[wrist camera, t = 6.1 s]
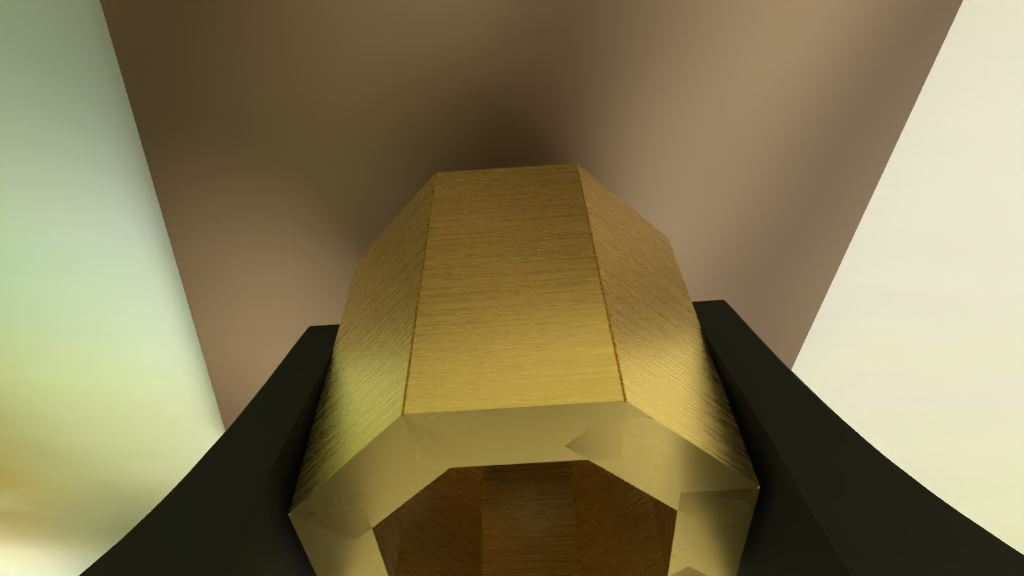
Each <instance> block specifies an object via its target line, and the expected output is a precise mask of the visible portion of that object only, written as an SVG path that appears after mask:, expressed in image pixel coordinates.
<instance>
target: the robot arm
mask: <svg viewBox="0 0 1024 576" xmlns="http://www.w3.org/2000/svg"><path fill="white" fill-rule="evenodd" d="M692 304H693V307H694V309H695V312H696V315H697V318H698V320H699V323H700V327H701V329H702V332H703V335H704V337H705V340H706V342H707V345H708V348H709V350H710V353H711V356H712V358H713V361H714V364H715V367H716V369H717V372H718V375H719V378H720V380H721V383H722V386H723V388H724V391H725V394H726V397H727V399H728V402H729V405H730V408H731V410H732V413H733V416H734V419H735V421H736V424H737V427H738V429H739V432H740V435H741V438H742V440H743V443H744V446H745V449H746V451H747V454H748V457H749V459H750V462H751V465H752V468H753V470H754V473H755V476H756V479H757V481H758V484H759V487H760V490H759V494H758V497H757V501H756V505H755V508H754V512H753V516H752V520H751V523H750V527H749V531H748V534H747V538H746V542H745V545H744V549H743V553H742V556H741V560H740V564H739V567H738V571H737V575H736V576H1024V555H1023V554H1021V553H1020V552H1018V551H1016V550H1015V549H1013V548H1012V547H1010V546H1009V545H1007V544H1006V543H1004V542H1003V541H1001V540H1000V539H998V538H997V537H995V536H994V535H993V534H991V533H990V532H988V531H987V530H985V529H984V528H982V527H981V526H979V525H978V524H976V523H975V522H973V521H972V520H970V519H969V518H967V517H966V516H964V515H963V514H961V513H960V512H958V511H957V510H956V509H954V508H953V507H951V506H950V505H949V504H947V503H946V502H944V501H943V500H942V499H940V498H939V497H937V496H936V495H935V494H933V493H932V492H930V491H929V490H928V489H927V488H925V487H924V486H923V485H921V484H920V483H919V482H917V481H916V480H915V479H914V478H912V477H911V476H910V475H908V474H907V473H906V472H904V471H903V470H902V469H901V468H899V467H898V466H897V465H895V464H894V463H893V462H891V461H890V460H889V459H888V458H886V457H885V456H884V455H883V454H882V453H880V452H879V451H878V450H877V449H876V448H874V447H873V446H872V445H871V444H870V443H869V442H867V441H866V440H865V439H864V438H863V437H862V436H860V435H859V434H858V433H857V432H856V431H855V430H854V429H853V428H851V427H850V426H849V425H848V424H847V423H846V422H845V421H844V420H842V419H841V418H840V417H839V416H838V415H837V414H836V413H835V412H834V411H833V410H832V409H830V408H829V407H828V406H827V405H826V404H825V403H824V402H823V401H822V400H821V399H820V398H819V397H818V396H817V395H816V394H815V393H814V392H813V391H812V390H811V389H810V388H809V387H808V386H807V385H805V384H804V383H803V382H802V381H801V380H800V379H799V378H798V377H797V376H796V375H795V374H794V373H793V372H792V371H791V370H790V369H789V368H788V367H787V366H786V365H785V364H784V363H783V362H782V361H781V360H780V358H779V357H778V356H777V355H776V354H775V353H774V352H773V351H772V350H771V349H770V348H769V347H768V346H767V345H766V344H765V343H764V342H763V341H762V339H761V338H760V337H759V336H758V335H757V334H756V333H755V332H754V331H753V330H752V329H751V328H750V327H749V325H748V324H747V323H746V322H745V321H744V320H743V319H742V318H741V317H740V316H739V314H738V313H737V312H736V311H735V310H734V309H733V308H732V307H731V306H730V305H729V304H728V303H727V302H726V301H725V300H710V301H694V302H692ZM339 326H340V324H334V325H318V326H309V327H308V328H307V330H306V331H305V332H304V333H303V334H302V336H301V337H300V338H299V339H298V341H297V342H296V343H295V345H294V346H293V347H292V349H291V350H290V351H289V352H288V354H287V355H286V356H285V358H284V359H283V360H282V362H281V363H280V364H279V365H278V367H277V368H276V369H275V371H274V372H273V373H272V375H271V376H270V377H269V378H268V380H267V381H266V382H265V384H264V385H263V386H262V387H261V389H260V390H259V391H258V392H257V394H256V395H255V396H254V397H253V399H252V400H251V401H250V402H249V403H248V405H247V406H246V407H245V408H244V410H243V411H242V412H241V413H240V414H239V416H238V417H237V418H236V419H235V421H234V422H233V423H232V424H231V425H230V427H229V428H228V429H227V430H226V431H225V433H224V434H223V435H222V436H221V437H220V438H219V439H218V440H217V442H216V443H215V444H214V445H213V446H212V447H211V448H210V449H209V451H208V452H207V453H206V454H205V455H204V456H203V457H202V458H201V459H200V461H199V462H198V463H197V464H196V465H195V466H194V467H193V468H192V469H191V471H190V472H189V473H188V474H187V475H186V476H185V477H184V478H183V479H182V480H181V481H180V482H179V483H178V484H177V486H176V487H175V488H174V489H173V490H172V491H171V492H170V493H169V494H168V495H167V496H166V497H165V498H164V499H163V500H162V501H161V502H160V503H159V504H158V505H157V506H156V507H155V508H154V509H153V510H152V511H151V512H150V513H149V514H148V515H147V516H146V517H144V518H143V519H142V520H141V521H140V522H139V523H138V524H137V525H136V526H135V527H134V528H133V529H132V530H131V531H130V532H129V533H128V534H127V535H125V536H124V537H123V538H122V539H121V540H120V541H119V542H118V543H117V544H115V545H114V546H113V547H112V548H111V549H110V550H108V551H107V552H106V553H105V554H104V555H103V556H101V557H100V558H99V559H98V560H97V561H96V562H94V563H93V564H92V565H91V566H90V567H89V568H87V569H86V570H85V571H84V572H83V573H82V574H80V575H79V576H317V575H316V573H315V571H314V569H313V567H312V565H311V563H310V560H309V558H308V556H307V554H306V552H305V550H304V548H303V545H302V543H301V541H300V539H299V537H298V535H297V533H296V530H295V528H294V526H293V524H292V522H291V520H290V518H289V511H290V507H291V504H292V500H293V496H294V492H295V489H296V485H297V481H298V478H299V474H300V470H301V467H302V463H303V459H304V455H305V452H306V448H307V444H308V441H309V437H310V433H311V429H312V426H313V422H314V418H315V415H316V411H317V407H318V404H319V400H320V396H321V392H322V389H323V385H324V381H325V378H326V374H327V370H328V367H329V363H330V360H331V357H332V353H333V348H334V344H335V341H336V337H337V333H338V330H339Z"/></svg>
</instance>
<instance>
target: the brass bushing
mask: <svg viewBox="0 0 1024 576" xmlns="http://www.w3.org/2000/svg"><path fill="white" fill-rule="evenodd" d="M759 490H760V487H759V484H758V481H757V479H756V476H755V473H754V470H753V468H752V465H751V462H750V459H749V457H748V454H747V451H746V449H745V446H744V443H743V440H742V438H741V435H740V432H739V429H738V427H737V424H736V421H735V419H734V416H733V413H732V410H731V408H730V405H729V402H728V399H727V397H726V394H725V391H724V388H723V386H722V383H721V380H720V378H719V375H718V372H717V369H716V367H715V364H714V361H713V358H712V356H711V353H710V350H709V348H708V345H707V342H706V340H705V337H704V335H703V332H702V329H701V327H700V323H699V320H698V318H697V315H696V312H695V309H694V307H693V304H692V301H691V298H690V296H689V293H688V290H687V287H686V285H685V282H684V279H683V277H682V274H681V271H680V268H679V266H678V263H677V260H676V257H675V255H674V252H673V249H672V247H671V244H670V241H669V239H668V238H667V237H666V236H665V235H663V234H662V233H661V232H660V231H658V230H657V229H656V228H655V227H654V226H652V225H651V224H650V223H649V222H648V221H646V220H645V219H644V218H643V217H642V216H640V215H639V214H638V213H637V212H635V211H634V210H633V209H632V208H631V207H629V206H628V205H627V204H626V203H625V202H623V201H622V200H621V199H620V198H619V197H617V196H616V195H615V194H614V193H612V192H611V191H610V190H609V189H608V188H606V187H605V186H604V185H603V184H602V183H600V182H599V181H598V180H597V179H596V178H594V177H593V176H592V175H591V174H590V173H588V172H587V171H586V170H585V169H583V168H582V167H581V166H580V165H579V164H577V165H576V163H568V164H554V165H539V166H524V167H510V168H495V169H480V170H466V171H451V172H437V173H436V174H434V175H433V176H432V177H431V178H430V179H429V180H428V181H427V183H426V184H425V185H424V186H423V187H422V188H421V189H420V190H419V191H418V193H417V194H416V195H415V196H414V197H413V198H412V199H411V200H410V201H409V203H408V204H407V205H406V206H405V207H404V208H403V209H402V210H401V211H400V213H399V214H398V215H397V216H396V217H395V218H394V219H393V220H392V221H391V223H390V224H389V225H388V226H387V227H386V228H385V229H384V230H383V231H382V233H381V234H380V235H379V236H378V237H377V238H376V239H375V240H374V241H373V243H372V244H371V245H370V246H369V247H368V248H367V249H366V250H365V251H364V253H363V254H362V255H361V256H360V257H359V258H358V259H357V263H356V267H355V270H354V274H353V278H352V281H351V285H350V289H349V292H348V296H347V300H346V304H345V307H344V311H343V315H342V318H341V322H340V326H339V330H338V333H337V337H336V341H335V344H334V348H333V353H332V357H331V360H330V363H329V367H328V370H327V374H326V378H325V381H324V385H323V389H322V392H321V396H320V400H319V404H318V407H317V411H316V415H315V418H314V422H313V426H312V429H311V433H310V437H309V441H308V444H307V448H306V452H305V455H304V459H303V463H302V467H301V470H300V474H299V478H298V481H297V485H296V489H295V492H294V496H293V500H292V504H291V507H290V511H289V518H290V520H291V522H292V524H293V526H294V528H295V530H296V533H297V535H298V537H299V539H300V541H301V543H302V545H303V548H304V550H305V552H306V554H307V556H308V558H309V560H310V563H311V565H312V567H313V569H314V571H315V573H316V575H317V576H736V575H737V571H738V567H739V564H740V560H741V556H742V553H743V549H744V545H745V542H746V538H747V534H748V531H749V527H750V523H751V520H752V516H753V512H754V508H755V505H756V501H757V497H758V494H759Z"/></svg>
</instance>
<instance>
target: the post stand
mask: <svg viewBox="0 0 1024 576" xmlns="http://www.w3.org/2000/svg"><path fill="white" fill-rule="evenodd" d="M100 1H101V5H102V8H103V12H104V15H105V18H106V22H107V25H108V29H109V32H110V36H111V39H112V43H113V46H114V49H115V53H116V56H117V60H118V63H119V67H120V70H121V73H122V77H123V80H124V84H125V87H126V91H127V94H128V98H129V101H130V104H131V108H132V111H133V115H134V118H135V122H136V125H137V128H138V132H139V135H140V139H141V142H142V146H143V149H144V152H145V156H146V159H147V163H148V166H149V170H150V173H151V177H152V180H153V183H154V187H155V190H156V194H157V197H158V201H159V204H160V207H161V211H162V214H163V218H164V221H165V225H166V228H167V231H168V235H169V238H170V242H171V245H172V249H173V252H174V256H175V259H176V262H177V266H178V269H179V273H180V276H181V280H182V283H183V286H184V290H185V293H186V297H187V300H188V304H189V307H190V310H191V314H192V317H193V321H194V324H195V328H196V331H197V335H198V338H199V341H200V345H201V348H202V352H203V355H204V359H205V362H206V365H207V369H208V372H209V376H210V379H211V383H212V386H213V390H214V393H215V396H216V400H217V403H218V407H219V410H220V414H221V417H222V420H223V424H224V427H225V431H226V430H227V429H228V428H229V427H230V425H231V424H232V423H233V422H234V421H235V419H236V418H237V417H238V416H239V414H240V413H241V412H242V411H243V410H244V408H245V407H246V406H247V405H248V403H249V402H250V401H251V400H252V399H253V397H254V396H255V395H256V394H257V392H258V391H259V390H260V389H261V387H262V386H263V385H264V384H265V382H266V381H267V380H268V378H269V377H270V376H271V375H272V373H273V372H274V371H275V369H276V368H277V367H278V365H279V364H280V363H281V362H282V360H283V359H284V358H285V356H286V355H287V354H288V352H289V351H290V350H291V349H292V347H293V346H294V345H295V343H296V342H297V341H298V339H299V338H300V337H301V336H302V334H303V333H304V332H305V331H306V330H307V328H308V327H309V326H318V325H334V324H340V322H341V318H342V315H343V311H344V307H345V304H346V300H347V296H348V292H349V289H350V285H351V281H352V278H353V274H354V270H355V267H356V263H357V259H358V258H359V257H360V256H361V255H362V254H363V253H364V251H365V250H366V249H367V248H368V247H369V246H370V245H371V244H372V243H373V241H374V240H375V239H376V238H377V237H378V236H379V235H380V234H381V233H382V231H383V230H384V229H385V228H386V227H387V226H388V225H389V224H390V223H391V221H392V220H393V219H394V218H395V217H396V216H397V215H398V214H399V213H400V211H401V210H402V209H403V208H404V207H405V206H406V205H407V204H408V203H409V201H410V200H411V199H412V198H413V197H414V196H415V195H416V194H417V193H418V191H419V190H420V189H421V188H422V187H423V186H424V185H425V184H426V183H427V181H428V180H429V179H430V178H431V177H432V176H433V175H434V174H436V173H437V172H451V171H466V170H480V169H495V168H510V167H524V166H539V165H554V164H568V163H576V165H577V164H579V165H580V166H581V167H582V168H583V169H585V170H586V171H587V172H588V173H590V174H591V175H592V176H593V177H594V178H596V179H597V180H598V181H599V182H600V183H602V184H603V185H604V186H605V187H606V188H608V189H609V190H610V191H611V192H612V193H614V194H615V195H616V196H617V197H619V198H620V199H621V200H622V201H623V202H625V203H626V204H627V205H628V206H629V207H631V208H632V209H633V210H634V211H635V212H637V213H638V214H639V215H640V216H642V217H643V218H644V219H645V220H646V221H648V222H649V223H650V224H651V225H652V226H654V227H655V228H656V229H657V230H658V231H660V232H661V233H662V234H663V235H665V236H666V237H667V238H668V239H669V241H670V244H671V247H672V249H673V252H674V255H675V257H676V260H677V263H678V266H679V268H680V271H681V274H682V277H683V279H684V282H685V285H686V287H687V290H688V293H689V296H690V298H691V301H692V302H694V301H710V300H725V301H726V302H727V303H728V304H729V305H730V306H731V307H732V308H733V309H734V310H735V311H736V312H737V313H738V314H739V316H740V317H741V318H742V319H743V320H744V321H745V322H746V323H747V324H748V325H749V327H750V328H751V329H752V330H753V331H754V332H755V333H756V334H757V335H758V336H759V337H760V338H761V339H762V341H763V342H764V343H765V344H766V345H767V346H768V347H769V348H770V349H771V350H772V351H773V352H774V353H775V354H776V355H777V356H778V357H779V358H780V360H781V361H782V362H783V363H784V364H785V365H786V366H787V367H788V368H789V369H790V370H791V369H792V367H793V365H794V362H795V360H796V358H797V356H798V354H799V352H800V350H801V347H802V345H803V343H804V341H805V339H806V337H807V334H808V332H809V330H810V328H811V326H812V324H813V322H814V319H815V317H816V315H817V313H818V311H819V309H820V307H821V304H822V302H823V300H824V298H825V296H826V294H827V292H828V289H829V287H830V285H831V283H832V281H833V279H834V276H835V274H836V272H837V270H838V268H839V266H840V264H841V261H842V259H843V257H844V255H845V253H846V251H847V249H848V246H849V244H850V242H851V240H852V238H853V236H854V233H855V231H856V229H857V227H858V225H859V223H860V221H861V218H862V216H863V214H864V212H865V210H866V208H867V206H868V203H869V201H870V199H871V197H872V195H873V193H874V190H875V188H876V186H877V184H878V182H879V180H880V178H881V175H882V173H883V171H884V169H885V167H886V165H887V163H888V160H889V158H890V156H891V154H892V152H893V150H894V148H895V145H896V143H897V141H898V139H899V137H900V135H901V132H902V130H903V128H904V126H905V124H906V122H907V120H908V117H909V115H910V113H911V111H912V109H913V107H914V105H915V102H916V100H917V98H918V96H919V94H920V92H921V89H922V87H923V85H924V83H925V81H926V79H927V77H928V74H929V72H930V70H931V68H932V66H933V64H934V62H935V59H936V57H937V55H938V53H939V51H940V49H941V46H942V44H943V42H944V40H945V38H946V36H947V34H948V31H949V29H950V27H951V25H952V23H953V21H954V19H955V16H956V14H957V12H958V10H959V8H960V6H961V4H962V1H963V0H100Z"/></svg>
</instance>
